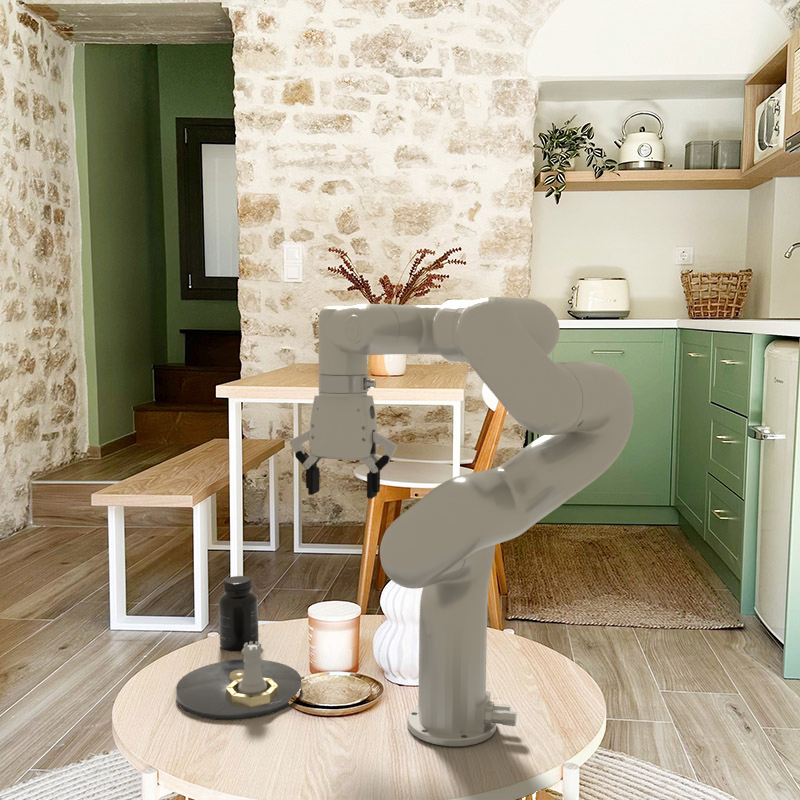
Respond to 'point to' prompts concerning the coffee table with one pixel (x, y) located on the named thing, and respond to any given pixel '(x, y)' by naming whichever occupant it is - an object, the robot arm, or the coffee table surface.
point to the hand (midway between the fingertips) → (342, 495)
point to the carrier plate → (236, 691)
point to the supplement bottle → (238, 614)
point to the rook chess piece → (252, 670)
